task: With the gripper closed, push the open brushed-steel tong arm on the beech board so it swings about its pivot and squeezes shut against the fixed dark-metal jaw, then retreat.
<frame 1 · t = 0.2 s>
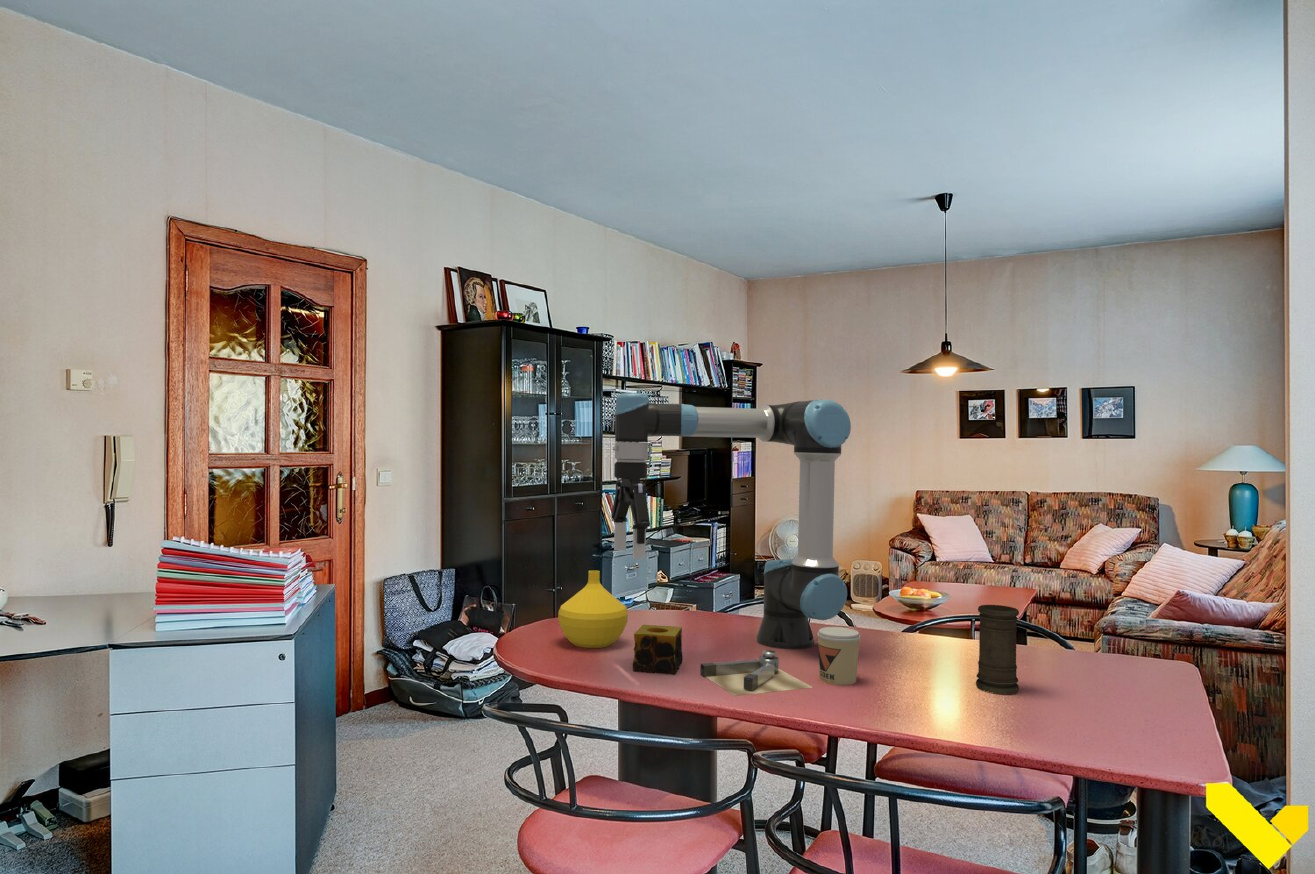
hand: (629, 554, 186), 28 cm above the table, fingers open, 13 cm apart
container: (997, 689, 182), on the table
coffee cup: (837, 685, 182), on the table
vase: (592, 644, 215), on the table
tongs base: (768, 671, 188), resting on board
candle: (658, 673, 190), on the table
tong arm: (759, 668, 181), point 4 cm above the table, hinge at 40.0°
board: (755, 685, 181), on the table
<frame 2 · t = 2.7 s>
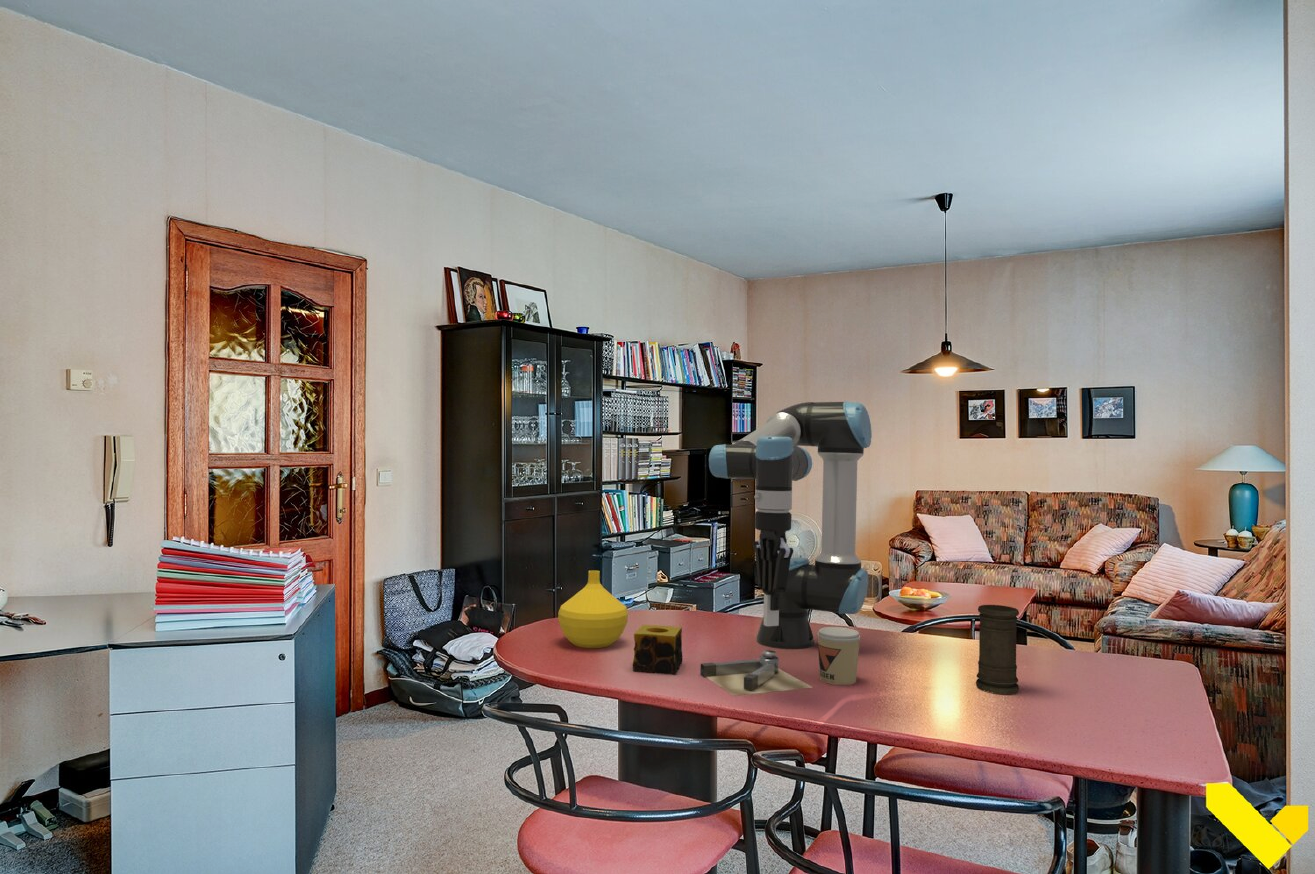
hand: (771, 625, 168), 16 cm above the table, fingers closed
nothing on the table moved.
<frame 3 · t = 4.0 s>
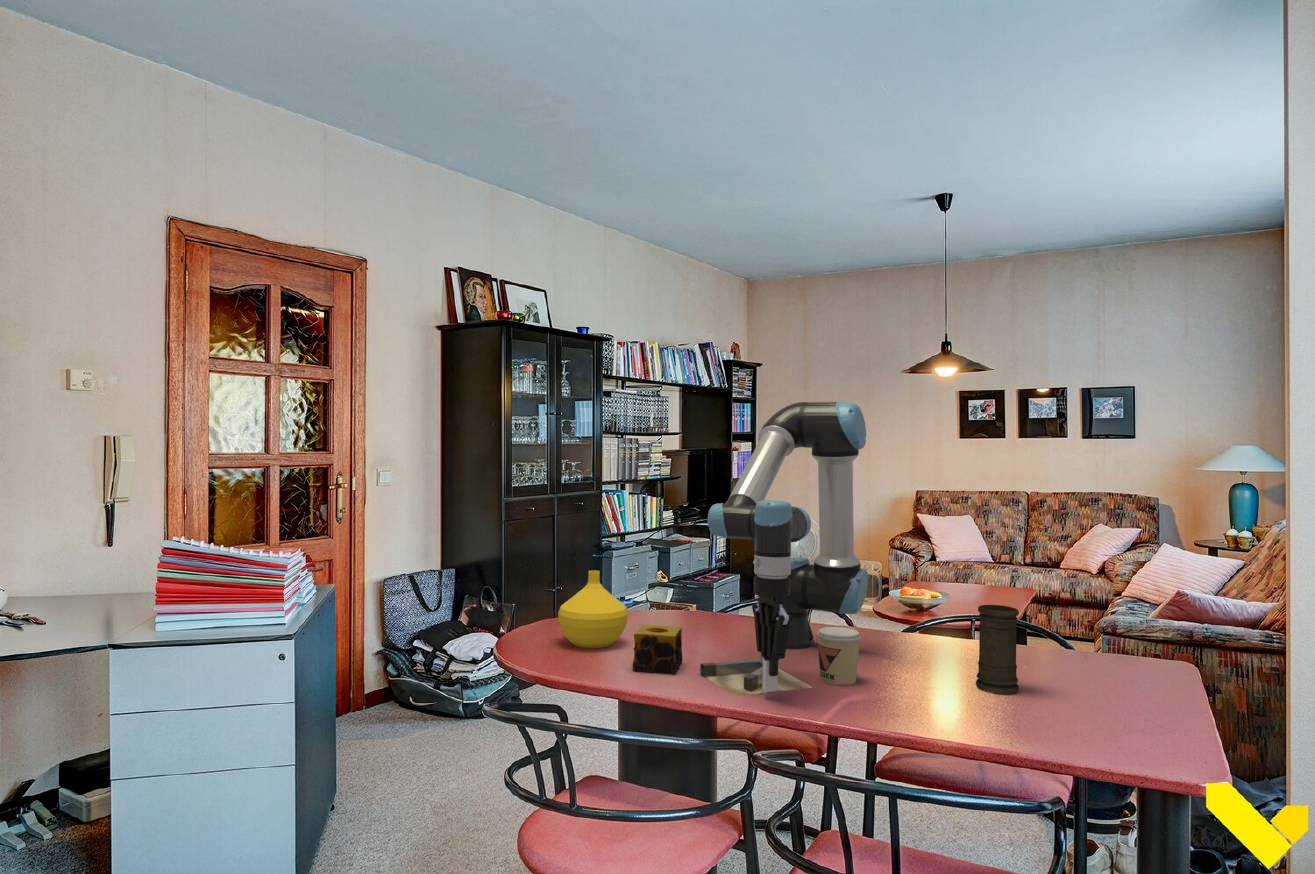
hand: (769, 690, 168), 3 cm above the table, fingers closed
nothing on the table moved.
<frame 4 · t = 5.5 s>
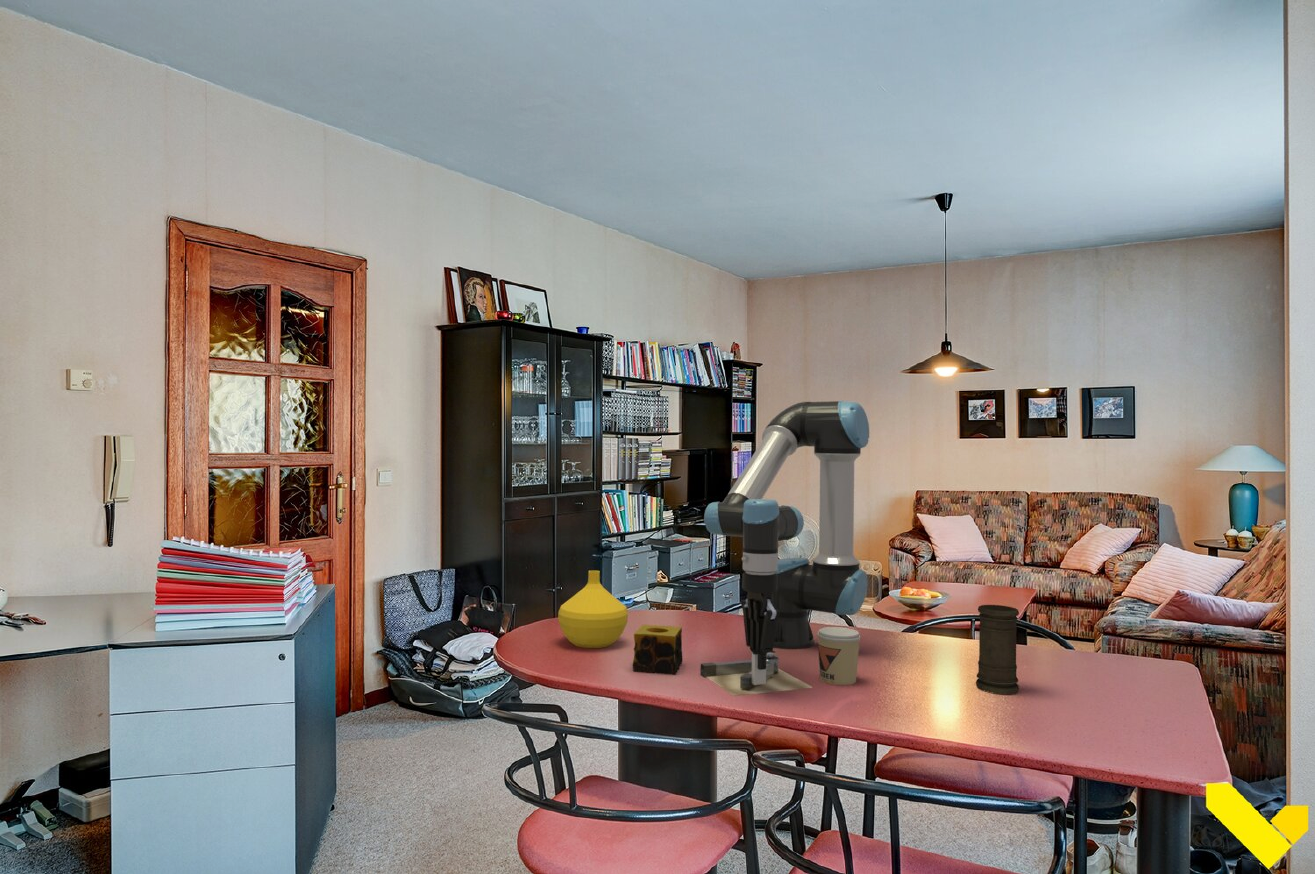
hand: (758, 683, 173), 3 cm above the table, fingers closed
tong arm: (757, 668, 181), point 4 cm above the table, hinge at 37.2°, touching gripper
everything else where it was.
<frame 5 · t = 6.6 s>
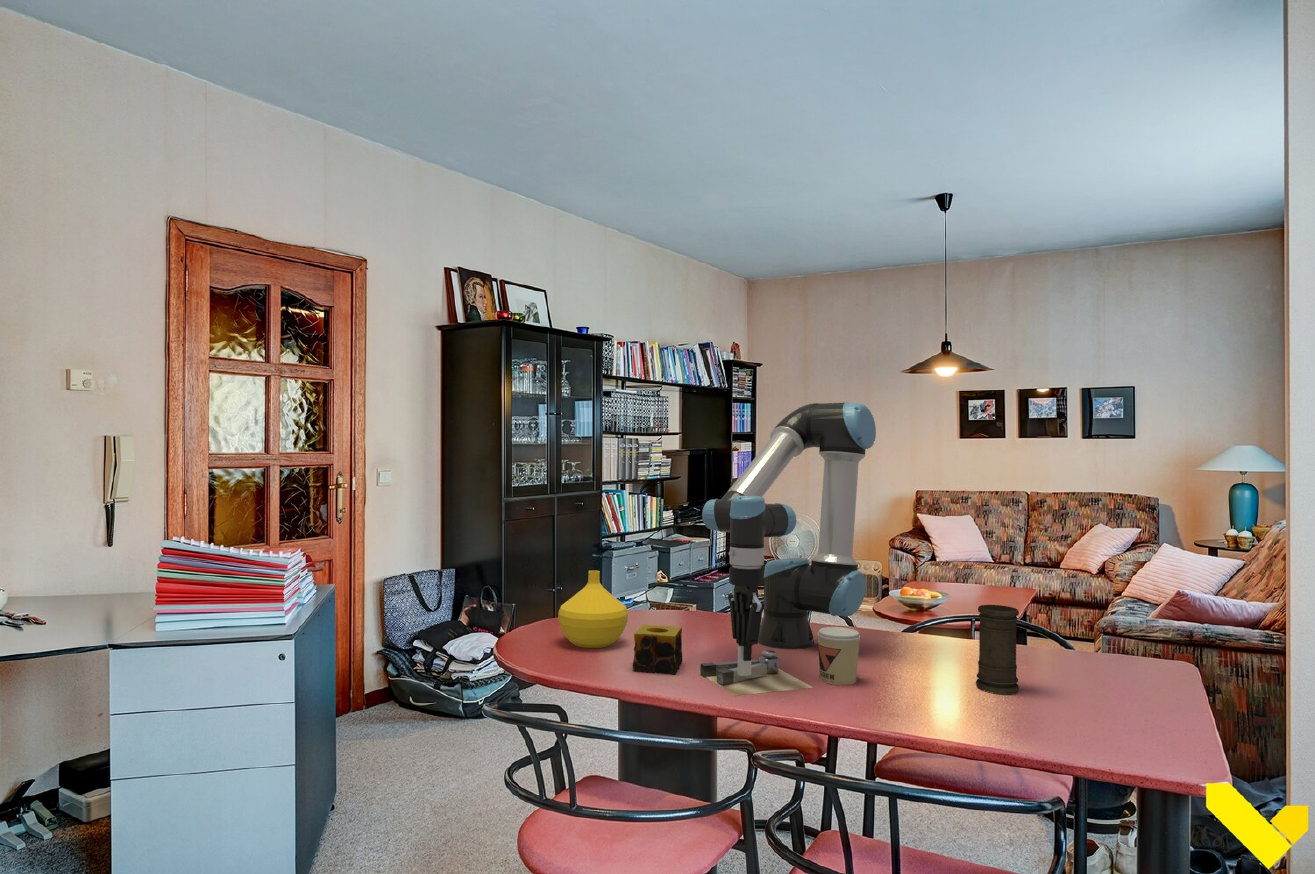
hand: (744, 674, 178), 3 cm above the table, fingers closed
tong arm: (747, 666, 183), point 4 cm above the table, hinge at 15.0°, touching gripper
everything else where it was.
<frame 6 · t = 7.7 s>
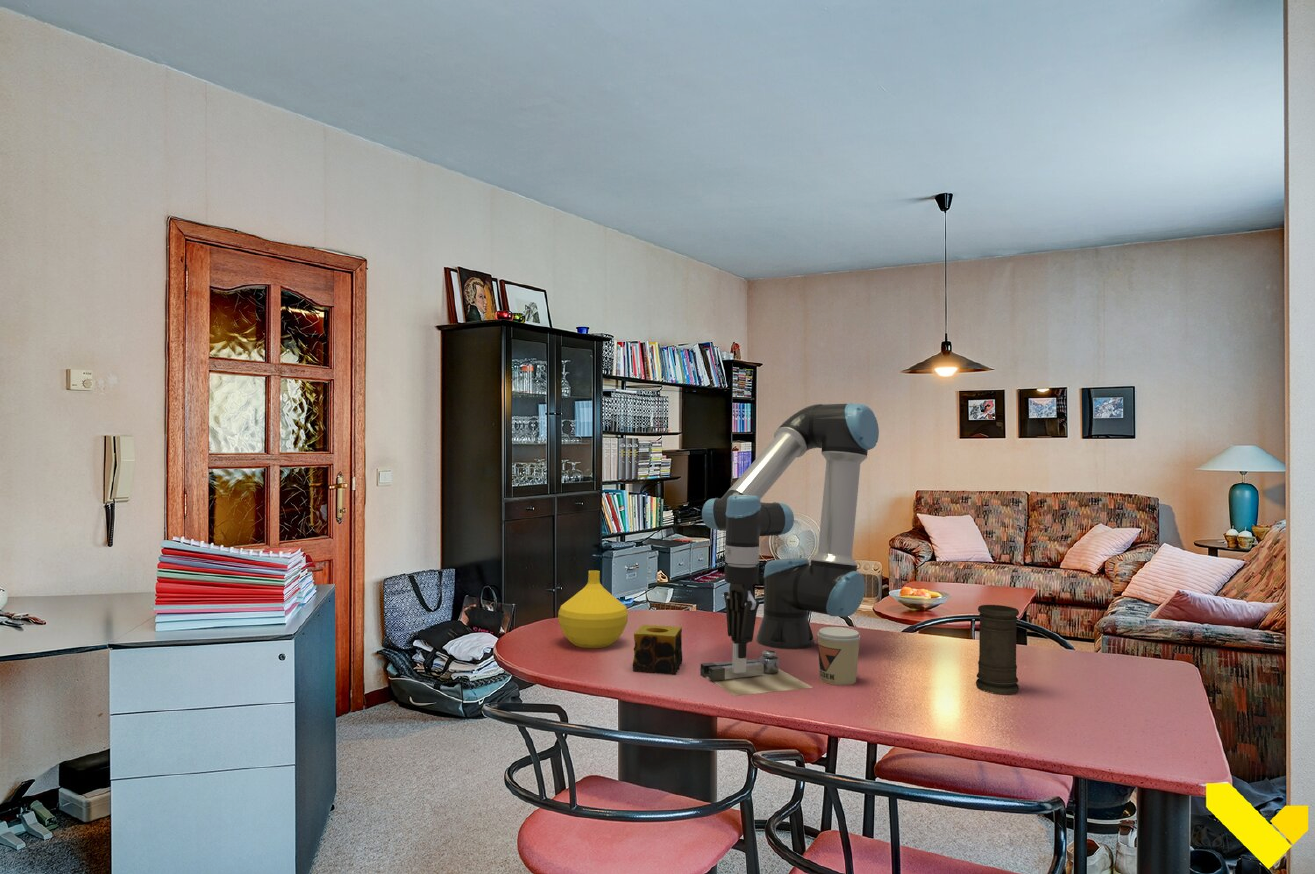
hand: (739, 671, 181), 3 cm above the table, fingers closed
tong arm: (742, 664, 184), point 4 cm above the table, hinge at 3.7°, touching gripper
everything else where it was.
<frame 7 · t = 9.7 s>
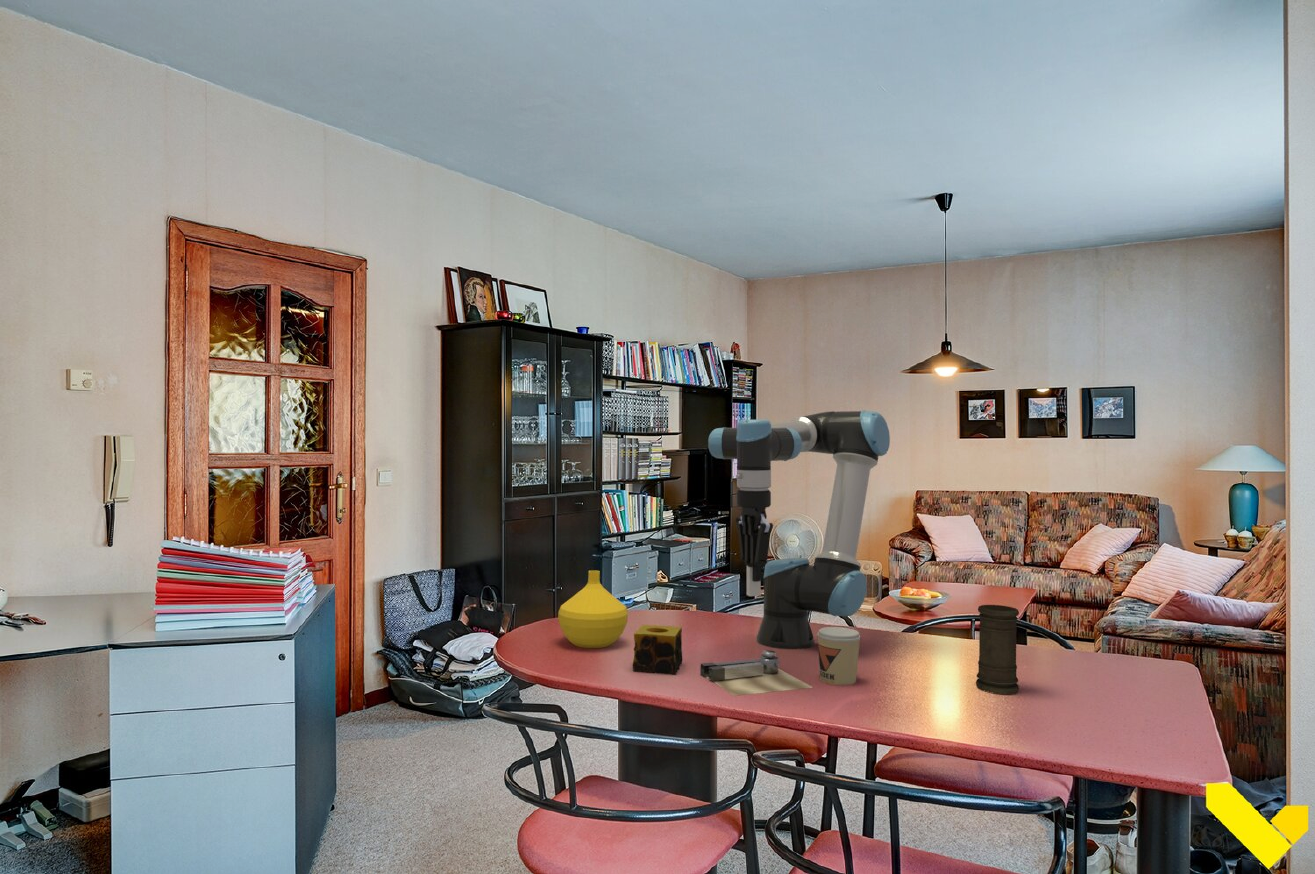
hand: (753, 595, 181), 20 cm above the table, fingers closed
tong arm: (742, 664, 184), point 4 cm above the table, hinge at 3.6°
everything else where it was.
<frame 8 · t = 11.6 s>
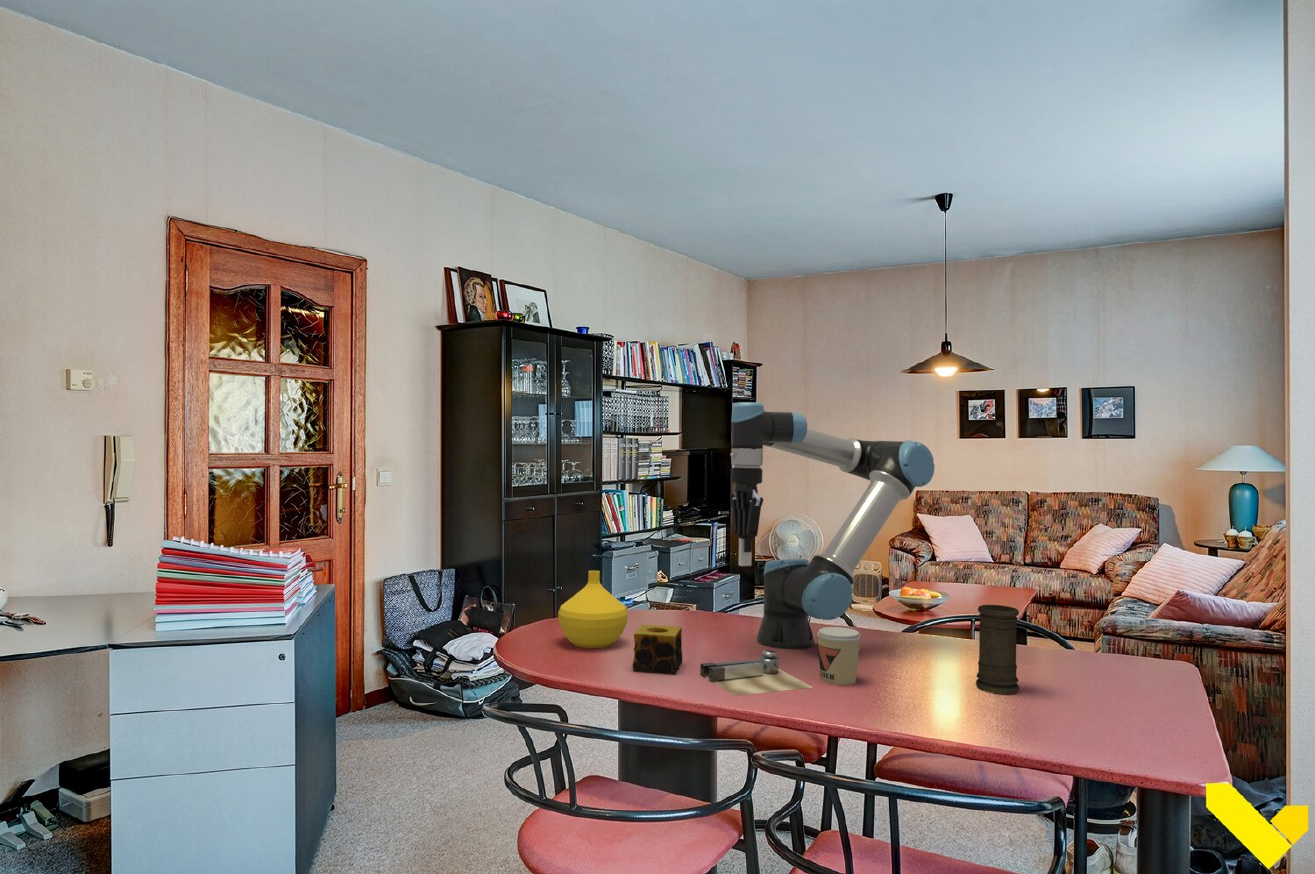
hand: (744, 565, 195), 24 cm above the table, fingers closed
nothing on the table moved.
at the end: tong arm at +4° (first picture: +40°) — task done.
